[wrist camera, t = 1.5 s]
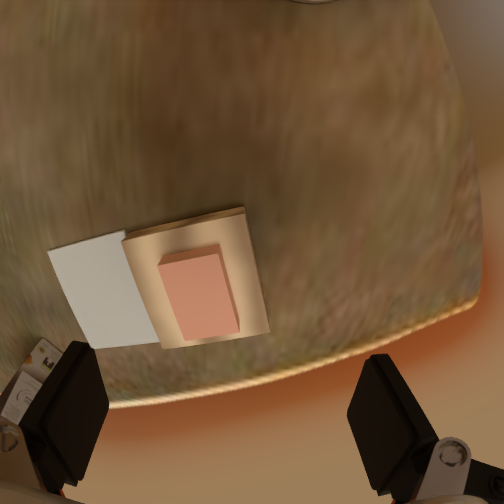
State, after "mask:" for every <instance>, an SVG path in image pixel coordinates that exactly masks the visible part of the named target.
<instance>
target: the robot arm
mask: <svg viewBox="0 0 504 504" xmlns="http://www.w3.org/2000/svg"><path fill="white" fill-rule="evenodd" d="M292 1H296V2H302V3H316V4H318V3H327V2H331V1H335V0H292ZM108 409H109V400H108V397H107V394H106V390H105V387H104V384H103V380H102V377H101V373H100V370H99V366H98V362H97V358H96V355H95V351H94V349H93V348H91V347H90V345H89V343H85V342H79V341H72V342H71V343H70V345H69V346H68V348H67V349H66V350H65V352H64V353H63V355H62V356H61V358H60V359H59V361H58V362H57V364H56V365H55V367H54V368H53V370H52V371H51V373H50V374H49V376H48V377H47V378H46V380H45V381H44V383H43V384H42V386H41V388H40V389H39V391H38V392H37V394H36V396H35V397H34V399H33V400H32V402H31V404H30V405H29V407H28V409H27V410H26V412H25V413H24V415H23V417H22V419H21V420H20V422H19V424H18V425H16V424H15V423H13V422H8V421H5V422H0V504H84V503H80V502H77V501H74V500H71V499H68V498H66V497H65V495H64V493H63V491H62V488H63V485H64V483H66V484H69V485H72V486H75V487H76V486H77V483H78V480H79V481H81V480H82V479H83V478H84V475H85V472H86V469H87V466H88V463H89V460H90V458H91V455H92V452H93V449H94V446H95V444H96V441H97V438H98V436H99V433H100V430H101V428H102V425H103V422H104V420H105V417H106V415H107V412H108ZM347 418H348V422H349V424H350V427H351V430H352V433H353V436H354V438H355V441H356V444H357V447H358V450H359V453H360V456H361V458H362V461H363V464H364V467H365V470H366V473H367V476H368V479H369V482H370V485H371V487H372V489H373V490H377V493H378V496H382V495H386V494H390V493H391V495H392V498H393V501H392V503H391V504H504V470H503V469H500V468H497V467H494V466H491V465H488V464H485V463H482V462H479V461H476V460H474V459H471V452H470V449H469V447H468V446H467V444H466V443H465V442H463V441H462V440H460V439H458V438H454V437H446V438H443V439H441V440H439V438H438V436H437V435H436V433H435V431H434V429H433V428H432V426H431V424H430V422H429V421H428V419H427V417H426V415H425V414H424V412H423V410H422V409H421V407H420V405H419V404H418V402H417V400H416V399H415V397H414V395H413V394H412V392H411V390H410V389H409V387H408V385H407V384H406V382H405V380H404V379H403V377H402V376H401V374H400V372H399V371H398V369H397V367H396V366H395V364H394V363H393V361H392V360H391V358H390V356H389V355H388V354H376V355H375V354H374V355H371V356H370V358H369V359H367V360H366V361H365V363H364V366H363V369H362V372H361V375H360V378H359V381H358V383H357V386H356V389H355V392H354V394H353V397H352V400H351V402H350V405H349V408H348V411H347Z"/></svg>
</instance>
